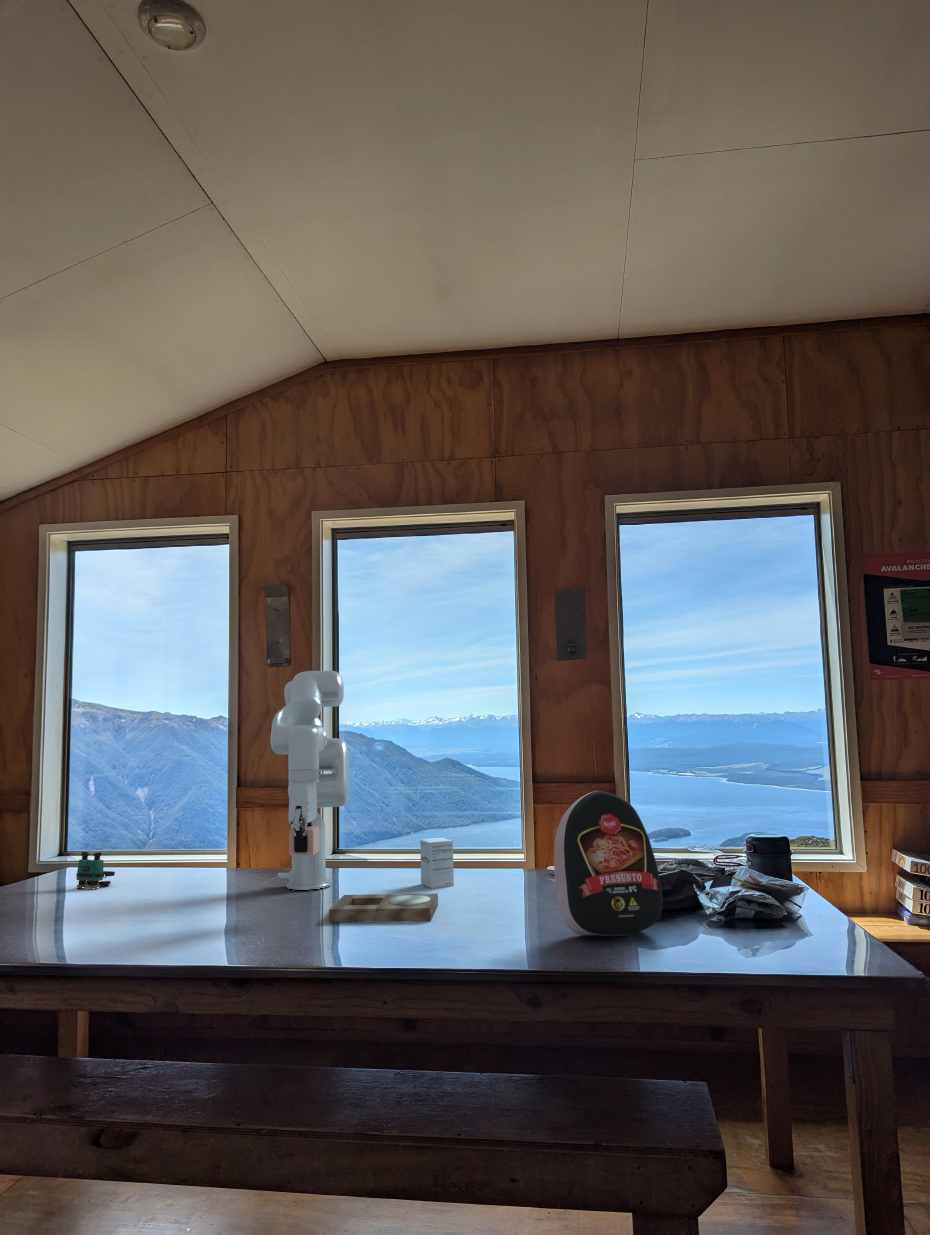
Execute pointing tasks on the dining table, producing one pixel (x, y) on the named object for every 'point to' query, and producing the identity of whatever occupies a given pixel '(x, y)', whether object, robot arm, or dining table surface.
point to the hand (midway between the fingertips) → (304, 849)
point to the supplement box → (437, 862)
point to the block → (312, 839)
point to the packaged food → (605, 868)
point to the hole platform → (384, 907)
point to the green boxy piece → (92, 871)
